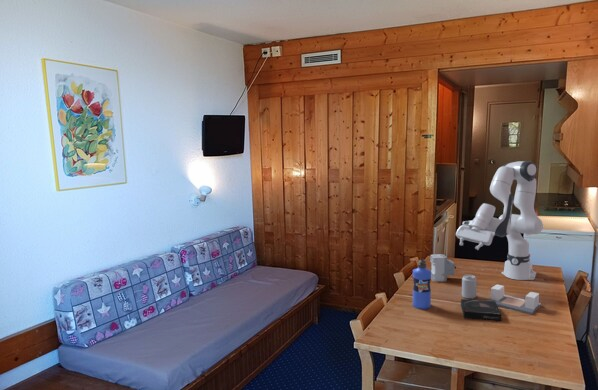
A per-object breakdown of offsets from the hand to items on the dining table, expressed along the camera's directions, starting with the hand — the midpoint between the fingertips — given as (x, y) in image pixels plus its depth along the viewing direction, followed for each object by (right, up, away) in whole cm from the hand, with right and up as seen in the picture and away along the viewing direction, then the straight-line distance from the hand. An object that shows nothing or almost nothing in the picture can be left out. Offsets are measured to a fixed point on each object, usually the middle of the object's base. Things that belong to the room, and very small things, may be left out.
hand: (468, 247), depth 237 cm
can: (-3, -27, -7) cm, 28 cm away
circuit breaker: (-7, -23, +23) cm, 33 cm away
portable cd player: (-6, -30, -28) cm, 41 cm away
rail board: (+16, -28, -19) cm, 37 cm away
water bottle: (-32, -29, -17) cm, 46 cm away
